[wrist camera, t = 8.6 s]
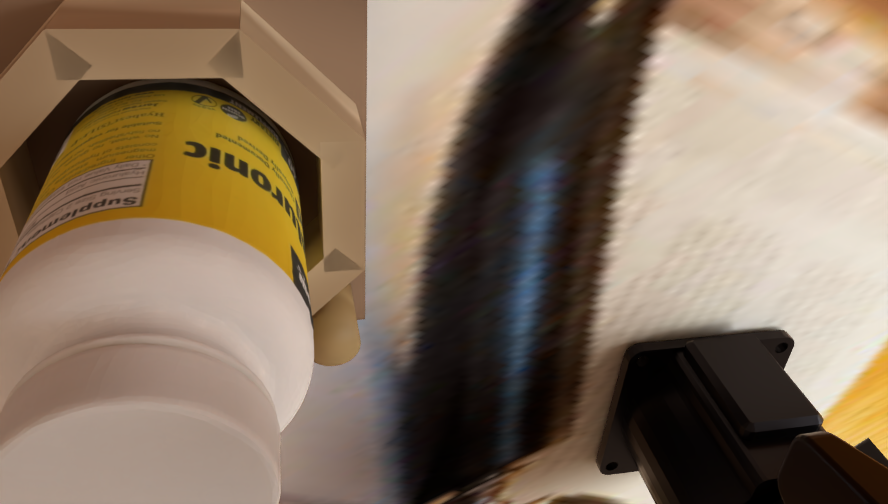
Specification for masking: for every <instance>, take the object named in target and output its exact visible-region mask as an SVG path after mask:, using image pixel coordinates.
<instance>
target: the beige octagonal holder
mask: <svg viewBox="0 0 888 504" xmlns="http://www.w3.org/2000/svg"><path fill="white" fill-rule="evenodd" d="M182 78H194V79H199V80H204V81H208V82H211V83H214V84H217V85H219V86H222V87H225V88H227V89H229V90H231V91H233V92H235V93H237V94H239V95H240V96H242V97H244V98H245V99H247V100H248V101H250V102H251V103H252V104H254V105H255V106H256V107H258V108H259V109H260V110H261V111H262V112H263V113H264V114H265V115H266V116H267V117H268V118H269V119H270V120H271V121H272V122H273V123H274V125H275V126H276V127H277V129H278V130H279V132H280V133H281V135H282V136H283V138H284V140H285V141H286V144H287V146H288V148H289V150H290V153H291V155H292V158H293V162H294V166H295V170H296V175H297V180H298V185H299V197H300V208H301V218H302V227H303V237H304V246H305V256H306V267H307V276H308V286H309V295H310V304H311V311H312V318H313V327H314V332H313V339H314V362H316V363H318V364H320V365H325V366H336V365H341V364H344V363H346V362H348V361H350V360H351V359H352V358H354V357H355V356H356V354H357V353H358V351H359V349H360V344H361V342H360V336H359V330H358V324H357V320H360V319H365V227H366V87H367V0H0V277H1V275H2V274H3V271H4V269H5V266H6V264H7V262H8V260H9V258H10V256H11V254H12V252H13V250H14V248H15V245H16V243H17V241H18V239H19V236H20V234H21V232H22V230H23V228H24V226H25V224H26V222H27V219H28V217H29V215H30V213H31V211H32V209H33V206H34V204H35V202H36V200H37V197H38V196H39V194H40V191H41V189H42V187H43V185H44V183H45V181H46V178H47V176H48V174H49V172H50V169H51V167H52V165H53V163H54V161H55V158H56V156H57V154H58V152H59V150H60V148H61V146H62V144H63V142H64V140H65V138H66V136H67V134H68V132H69V131H70V129H71V128H72V126H73V125H74V123H75V122H76V121H77V119H78V118H79V117H80V116H81V115H82V113H83V112H84V111H85V110H86V109H87V108H88V107H89V106H90V105H92V104H93V103H94V102H96V101H97V100H98V99H100V98H101V97H103V96H104V95H106V94H108V93H109V92H111V91H113V90H114V89H117V88H119V87H121V86H124V85H126V84H129V83H133V82H136V81H140V80H145V79H182Z"/></svg>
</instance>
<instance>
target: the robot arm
mask: <svg viewBox="0 0 888 504" xmlns="http://www.w3.org/2000/svg"><path fill="white" fill-rule="evenodd" d="M793 347H794V340H793V339H792V337H791V336H790V335H789V334H788V333H787V332H786V331H784V330H776V331H765V332H754V333H744V334H733V335H722V336H712V337H701V338H690V339H680V340H669V341H658V342H648V343H639V344H635V345H633V346H631V347H630V348H629V349H628V350H627V351H626V353H625V355H624V358H623V361H622V365H621V369H620V373H619V376H618V380H617V384H616V388H615V391H614V395H613V399H612V403H611V406H610V410H609V414H608V417H607V421H606V425H605V429H604V432H603V436H602V440H601V444H600V447H599V451H598V455H597V459H596V463H597V466H598V468H599V470H600V472H601V473H602V474H605V475H611V474H619V473H626V472H634V471H639V472H640V474H641V476H642V478H643V480H644V482H645V484H646V486H647V488H648V490H649V492H650V494H651V496H652V498H653V499H654V501H655V503H656V504H888V460H887V459H886V458H885V456H884V455H883V454H882V453H881V452H880V451H879V449H878V448H877V447H876V446H875V445H874V444H873V443H872V441H871V440H870V439H869V438H867V439H865V440H864V441H862V442H861V443H859V444H858V445H856V446H855V447H853V446H851V445H850V444H848V443H847V442H845V441H843V440H842V439H840V438H839V437H837V436H835V435H833V434H831V433H829V432H826V431H825V429H824V428H823V427H822V426H821V425H822V423H823V418H822V416H821V415H820V413H819V412H818V411H817V410H816V409H815V407H814V406H813V405H812V404H811V402H810V401H809V400H808V399H807V398H806V396H805V395H804V394H803V393H802V391H801V390H800V389H799V388H798V387H797V385H796V384H795V383H794V382H793V381H792V379H791V378H790V377H789V376H788V374H787V373H786V372H785V371H784V368H785V365H786V363H787V361H788V358H789V356H790V354H791V352H792V349H793ZM639 357H640V358H639ZM638 358H639V359H638Z"/></svg>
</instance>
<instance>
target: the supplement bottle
mask: <svg viewBox="0 0 888 504" xmlns="http://www.w3.org/2000/svg"><path fill="white" fill-rule="evenodd" d="M313 332H314V327H313V318H312V311H311V304H310V295H309V286H308V276H307V267H306V256H305V246H304V237H303V227H302V218H301V208H300V197H299V185H298V180H297V175H296V170H295V166H294V162H293V158H292V155H291V153H290V150H289V148H288V146H287V144H286V141H285V140H284V138H283V136H282V135H281V133H280V132H279V130H278V129H277V127H276V126H275V125H274V123H273V122H272V121H271V120H270V119H269V118H268V117H267V116H266V115H265V114H264V113H263V112H262V111H261V110H260V109H259V108H258V107H256V106H255V105H254V104H252V103H251V102H250V101H248V100H247V99H245V98H244V97H242V96H240V95H239V94H237V93H235V92H233V91H231V90H229V89H227V88H225V87H222V86H219V85H217V84H214V83H211V82H208V81H204V80H199V79H194V78H182V79H145V80H140V81H136V82H133V83H129V84H126V85H124V86H121V87H119V88H117V89H114V90H113V91H111V92H109V93H108V94H106V95H104V96H103V97H101V98H100V99H98V100H97V101H96V102H94V103H93V104H92V105H90V106H89V107H88V108H87V109H86V110H85V111H84V112H83V113H82V115H81V116H80V117H79V118H78V119H77V121H76V122H75V123H74V125H73V126H72V128H71V129H70V131H69V132H68V134H67V136H66V138H65V140H64V142H63V144H62V146H61V148H60V150H59V152H58V154H57V156H56V158H55V161H54V163H53V165H52V167H51V169H50V172H49V174H48V176H47V178H46V181H45V183H44V185H43V187H42V189H41V191H40V194H39V196H38V197H37V200H36V202H35V204H34V206H33V209H32V211H31V213H30V215H29V217H28V219H27V222H26V224H25V226H24V228H23V230H22V232H21V234H20V236H19V239H18V241H17V243H16V245H15V248H14V250H13V252H12V254H11V256H10V258H9V260H8V262H7V264H6V266H5V269H4V271H3V274H2V275H1V277H0V504H279V500H280V495H281V464H280V446H281V434H280V433H281V432H282V431H283V430H284V429H285V427H286V426H287V425H288V424H289V423H290V421H291V420H292V419H293V417H294V416H295V414H296V413H297V411H298V410H299V408H300V406H301V404H302V402H303V401H304V398H305V396H306V393H307V391H308V388H309V385H310V381H311V377H312V371H313V365H314V339H313Z"/></svg>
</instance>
